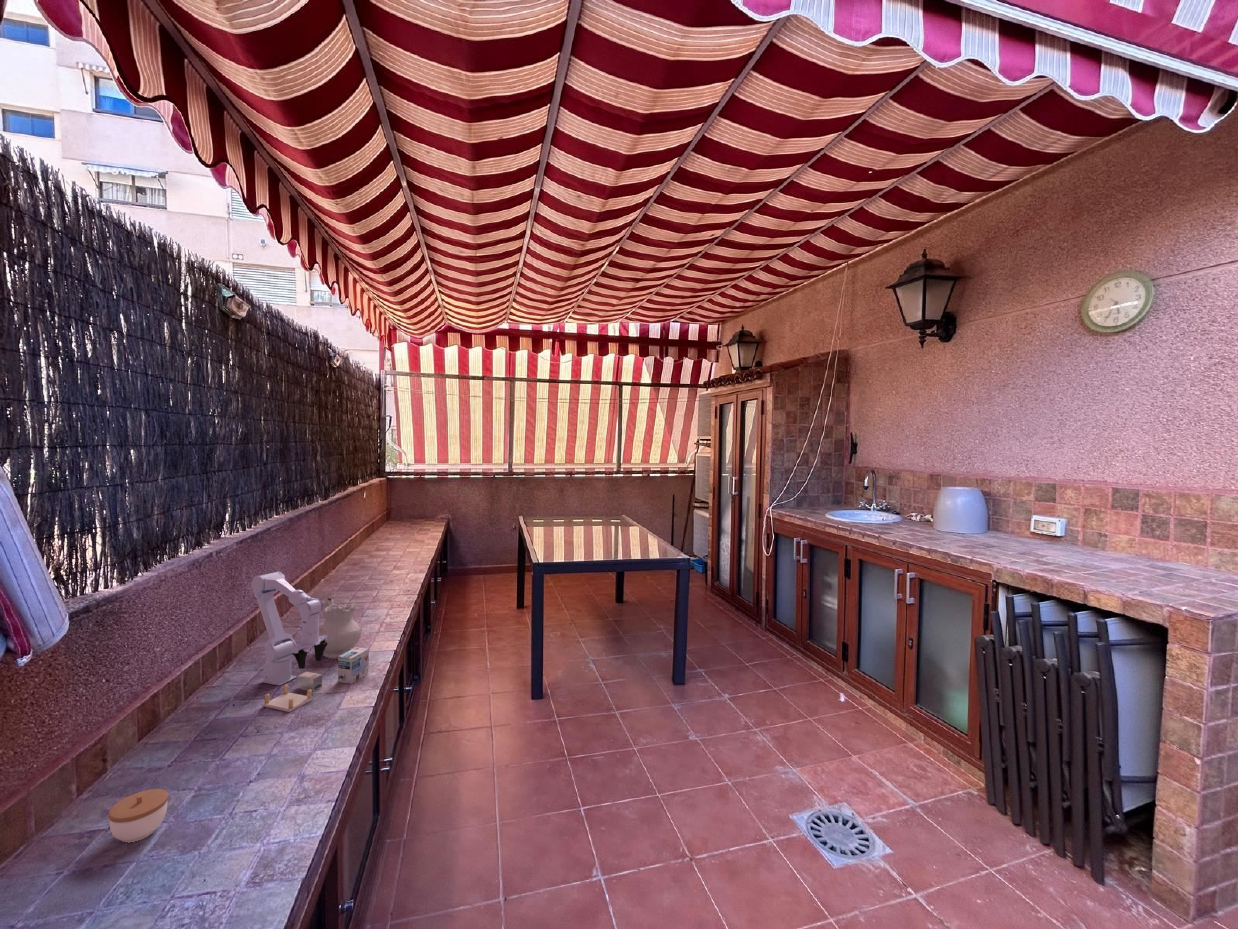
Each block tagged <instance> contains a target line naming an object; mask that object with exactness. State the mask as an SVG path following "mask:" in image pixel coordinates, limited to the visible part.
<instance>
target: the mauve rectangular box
mask: <svg viewBox="0 0 1238 929" xmlns="http://www.w3.org/2000/svg"><path fill="white" fill-rule="evenodd" d="M322 687H323V674H320V673H316V672H311V671H304V672H303V673H300V674H298V675H297V676H296V689H297V690H302V691H307V690H309V689H311V690H312V693H313V692H315V691H318V690H320V689H322Z"/></svg>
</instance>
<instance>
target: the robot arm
mask: <svg viewBox="0 0 1238 929" xmlns="http://www.w3.org/2000/svg"><path fill="white" fill-rule="evenodd" d="M250 584H251V585H250V586H251V589H252V592H253V595H254V598H256V600H257V603H258V607H259V610H260V613H261V616H262V619H263V622H264V625H265V628H266V632H267V634H268V640H267V641H266V642H265V644H264V645H263V647H264V656H265V658H266V661H265V662H264V665H263V680H261V682H262V683H265V684H269V685H274V686H282V685H283V684H284V685H285V684H286V683H288V682H290V681H292V680H294V679H297V676H296V675H292V658H293V657H294V658H295V660H296V662H297V663H296V664H297V666H298V669H300V670H301V669H302V670H304V669H305V667H306V659H307V655H308V651H305V650H306V649H308V648H311V647H313V649H314V660H315V661H316V662H321V661H322V658H323V654H324V653H325V652H324V650H325V648H326V646H327V645H328V642H325V641H327V636H326V635H323V636H320V637H319V627H320V613H321V612H323V610H324V604H323V602H322V600H320V598H315V597H311V596H310V595H309V594H307V593H306V592H304V590H302V589H296V588H295V587H293V586H292V585H291V584H290V583H289V582H288V581H287V580H286V576H285V574H283V573H282V572H281V571H275V572H271V573H265V574H262V575H255V576H254V577H253V579H252V582H251V583H250ZM278 592H280V593H282V594H283V595H285V596H286V597H288V602H289V603H290V604H292V605H293V606H295V607H296V608H297V609H298V613H299V615H300V620H301V622H302V623H301V624H302V625H301V626H302V629H301V630H302V631H301V642H299V643H298V644H297V643H296V641H295V640H294V639H293V636H292V635H291V634H290V633H286V632H285V631H284V628H283V624H282V620H281V617H280V615H279V611H278V608H277V606H276V603H275V602H276V601H275V599H274V596H275V594H277V593H278Z"/></svg>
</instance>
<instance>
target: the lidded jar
mask: <svg viewBox="0 0 1238 929" xmlns="http://www.w3.org/2000/svg"><path fill="white" fill-rule="evenodd" d="M168 800H169V792H168V790H166V789H162V788H152V789H146V790H142V791H139V792H136V793H134V794H131V795H129V796H127V797H124V798H123V799H121V800H120V801H118V802H116V803H115V804H114V805H113V806H112V807H111V808H110V810H109V812H108V820H109V829H110V833H111V834H112V835H113V837H114V838H115V839H116V840H119V841H121V842H123V843H124V842H126V843H125V844H131V843H130V842H133V843H136V842H135V841H137V842H139V841H142V840H145V839H146V838H148V837H150V836H151V835H152V834H153V833H154V832H156V829H157V828H158V827H159V826H160V825H161V823H162V822H163V821H164V819H165V817H166V814H167V811H168V810H167V809H168V805H169V804H168V803H169V801H168ZM138 840H139V841H138ZM127 842H128V843H127Z"/></svg>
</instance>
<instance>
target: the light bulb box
mask: <svg viewBox="0 0 1238 929" xmlns="http://www.w3.org/2000/svg"><path fill="white" fill-rule="evenodd" d="M350 649H351V650H350V651H348V652H346V653H344V654H342V655H340V656H338V659H337V660H338V662H337V663H338V664H337V666H338V667H337V682H338V683H343V684H351V685H352V684H353V683H355V682H357V681H358V680H360V679H362V678H363V677H365V676H367V675H369V663H370V662H369V661H370V660H369V659H370V656H369V655H370V649H369V648H366V647H365V648H364V647H359V646H358V647H357V646H354V647H353V648H350Z"/></svg>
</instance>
